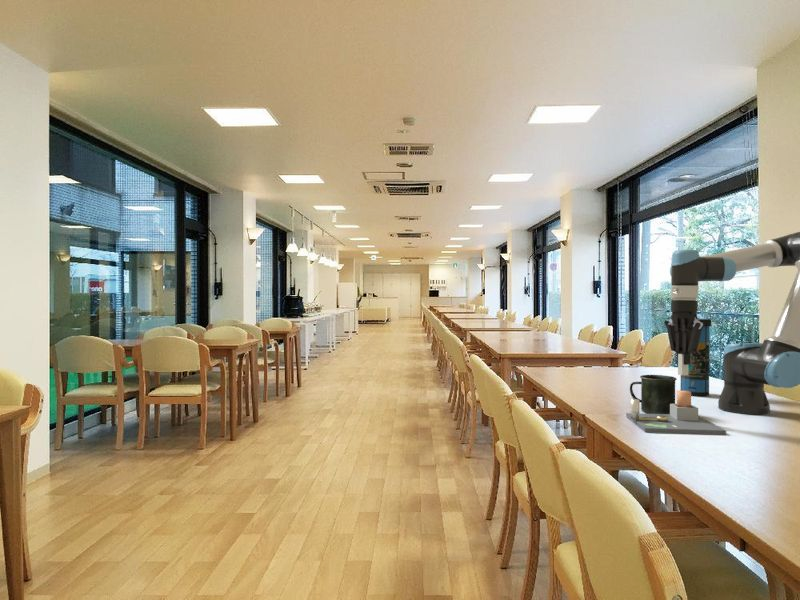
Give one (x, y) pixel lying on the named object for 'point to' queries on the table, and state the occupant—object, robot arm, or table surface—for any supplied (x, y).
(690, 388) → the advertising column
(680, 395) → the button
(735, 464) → the table surface
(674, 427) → the tuner board
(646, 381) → the mug
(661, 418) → the brass ball-ended crank
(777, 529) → the table surface
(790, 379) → the robot arm
